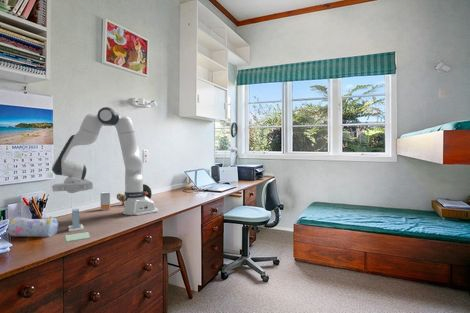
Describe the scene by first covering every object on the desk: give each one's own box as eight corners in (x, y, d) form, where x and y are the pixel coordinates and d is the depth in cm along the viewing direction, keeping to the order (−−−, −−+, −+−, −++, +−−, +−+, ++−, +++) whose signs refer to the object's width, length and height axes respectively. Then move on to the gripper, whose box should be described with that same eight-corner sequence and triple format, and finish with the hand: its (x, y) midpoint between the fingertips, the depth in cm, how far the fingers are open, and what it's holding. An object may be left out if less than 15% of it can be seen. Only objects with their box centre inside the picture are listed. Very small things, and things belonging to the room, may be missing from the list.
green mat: (88, 233, 144) (88, 231, 144) (90, 238, 135) (90, 237, 135) (65, 236, 138) (65, 235, 138) (65, 242, 130) (65, 241, 130)
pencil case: (60, 233, 143) (60, 215, 143) (49, 239, 135) (49, 219, 134) (19, 233, 143) (18, 215, 143) (5, 239, 135) (5, 219, 134)
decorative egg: (146, 201, 224) (146, 182, 223) (154, 203, 215) (154, 184, 215) (131, 203, 215) (131, 184, 214) (139, 206, 206) (139, 185, 206)
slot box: (82, 226, 155) (82, 224, 155) (83, 230, 148) (83, 227, 147) (68, 228, 151) (68, 225, 151) (69, 232, 144) (68, 229, 144)
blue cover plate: (78, 227, 152) (78, 208, 152) (79, 229, 148) (79, 210, 148) (72, 227, 150) (72, 209, 150) (72, 230, 147) (72, 211, 146)
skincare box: (100, 210, 193) (100, 193, 193) (100, 209, 197) (100, 192, 197) (110, 209, 196) (109, 192, 195) (110, 208, 200) (109, 191, 199)
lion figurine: (116, 206, 206) (116, 194, 206) (116, 205, 211) (116, 193, 211) (137, 204, 212) (137, 192, 212) (137, 203, 217) (137, 191, 217)
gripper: (51, 181, 165) (51, 184, 153) (91, 179, 176) (93, 181, 164) (52, 191, 165) (51, 195, 153) (91, 189, 176) (93, 192, 164)
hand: (73, 188), depth 159 cm, fingers open, 8 cm apart
